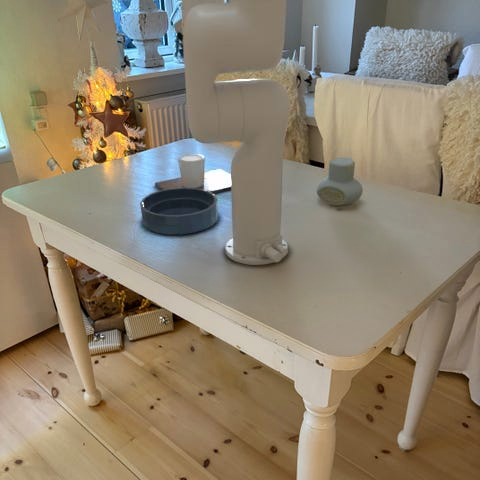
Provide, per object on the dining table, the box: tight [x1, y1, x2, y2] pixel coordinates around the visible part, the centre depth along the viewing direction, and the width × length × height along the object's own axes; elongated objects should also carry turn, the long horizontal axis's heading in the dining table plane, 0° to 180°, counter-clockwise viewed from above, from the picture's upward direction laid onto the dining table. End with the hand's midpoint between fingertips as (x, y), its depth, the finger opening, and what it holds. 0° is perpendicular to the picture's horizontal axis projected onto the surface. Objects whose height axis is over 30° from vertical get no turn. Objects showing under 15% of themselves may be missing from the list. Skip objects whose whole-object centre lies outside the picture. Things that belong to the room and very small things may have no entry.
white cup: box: [177, 153, 206, 188], centre depth 128 cm, size 7×7×7 cm
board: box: [154, 168, 231, 195], centre depth 131 cm, size 14×20×1 cm
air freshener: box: [316, 157, 364, 208], centre depth 117 cm, size 11×8×10 cm
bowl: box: [139, 188, 219, 235], centre depth 112 cm, size 17×17×4 cm
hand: (206, 64), depth 120 cm, fingers open, 9 cm apart
